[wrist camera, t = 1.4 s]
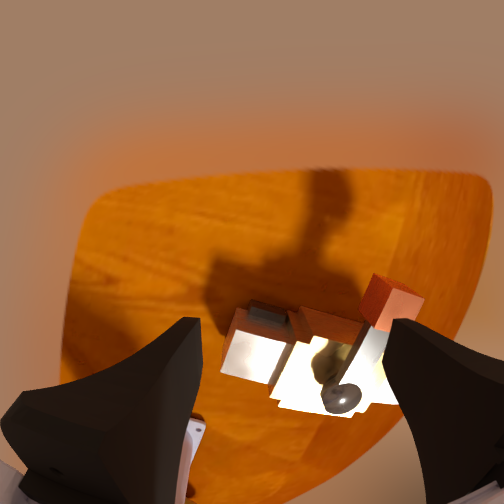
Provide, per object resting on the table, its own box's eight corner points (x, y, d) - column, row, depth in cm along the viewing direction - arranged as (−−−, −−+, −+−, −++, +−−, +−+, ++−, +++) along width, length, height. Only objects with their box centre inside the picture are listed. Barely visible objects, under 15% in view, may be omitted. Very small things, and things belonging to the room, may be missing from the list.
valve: (375, 388, 23) (397, 425, 18) (218, 354, 21) (213, 397, 16) (406, 334, 22) (436, 366, 17) (242, 287, 20) (242, 320, 15)
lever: (343, 400, 17) (353, 424, 15) (311, 394, 17) (318, 420, 15) (404, 284, 16) (426, 299, 13) (372, 272, 15) (391, 287, 13)
